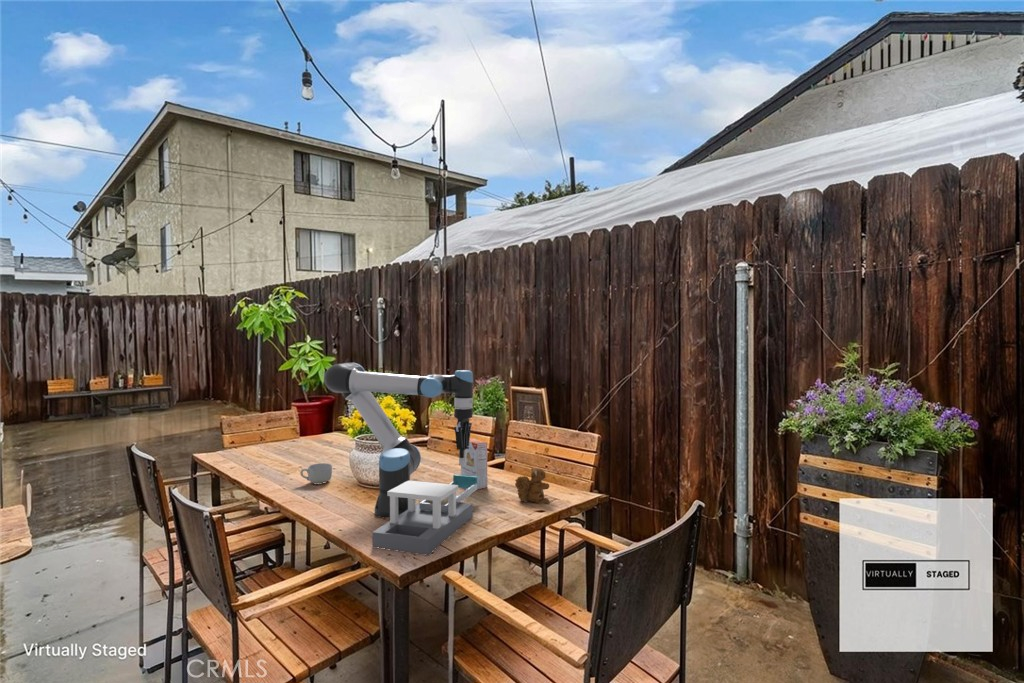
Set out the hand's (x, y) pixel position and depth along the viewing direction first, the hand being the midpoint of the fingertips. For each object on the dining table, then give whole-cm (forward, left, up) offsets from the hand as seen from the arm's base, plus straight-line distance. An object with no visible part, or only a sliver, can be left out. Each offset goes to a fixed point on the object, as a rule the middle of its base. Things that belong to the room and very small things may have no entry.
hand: (462, 465), depth 208 cm
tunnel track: (0, -33, -15) cm, 36 cm away
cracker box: (-5, +23, -15) cm, 28 cm away
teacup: (-77, +5, -16) cm, 78 cm away
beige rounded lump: (0, -22, -10) cm, 24 cm away
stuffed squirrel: (+27, +11, -16) cm, 33 cm away
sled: (0, -13, -10) cm, 16 cm away
